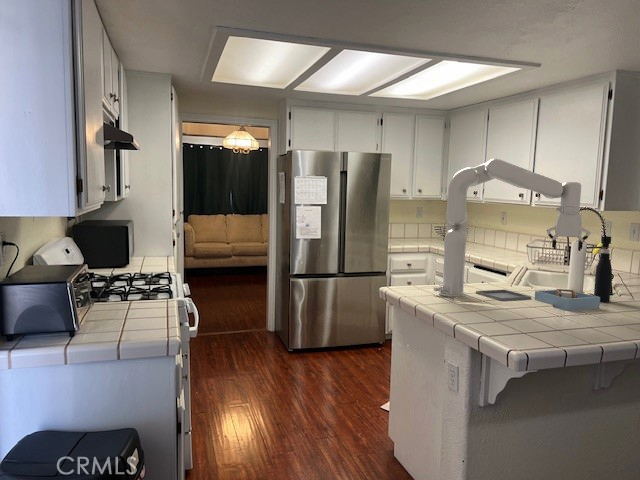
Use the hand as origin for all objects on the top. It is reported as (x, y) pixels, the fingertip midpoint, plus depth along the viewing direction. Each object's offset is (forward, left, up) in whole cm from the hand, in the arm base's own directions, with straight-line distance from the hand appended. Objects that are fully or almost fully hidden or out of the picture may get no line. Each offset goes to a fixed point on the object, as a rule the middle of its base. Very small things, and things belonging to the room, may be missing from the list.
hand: (566, 249), depth 211 cm
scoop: (0, -1, -23) cm, 23 cm away
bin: (+1, -1, -24) cm, 24 cm away
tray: (-17, +18, -24) cm, 35 cm away
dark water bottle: (+26, +2, -25) cm, 35 cm away
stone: (+1, 0, -23) cm, 23 cm away
